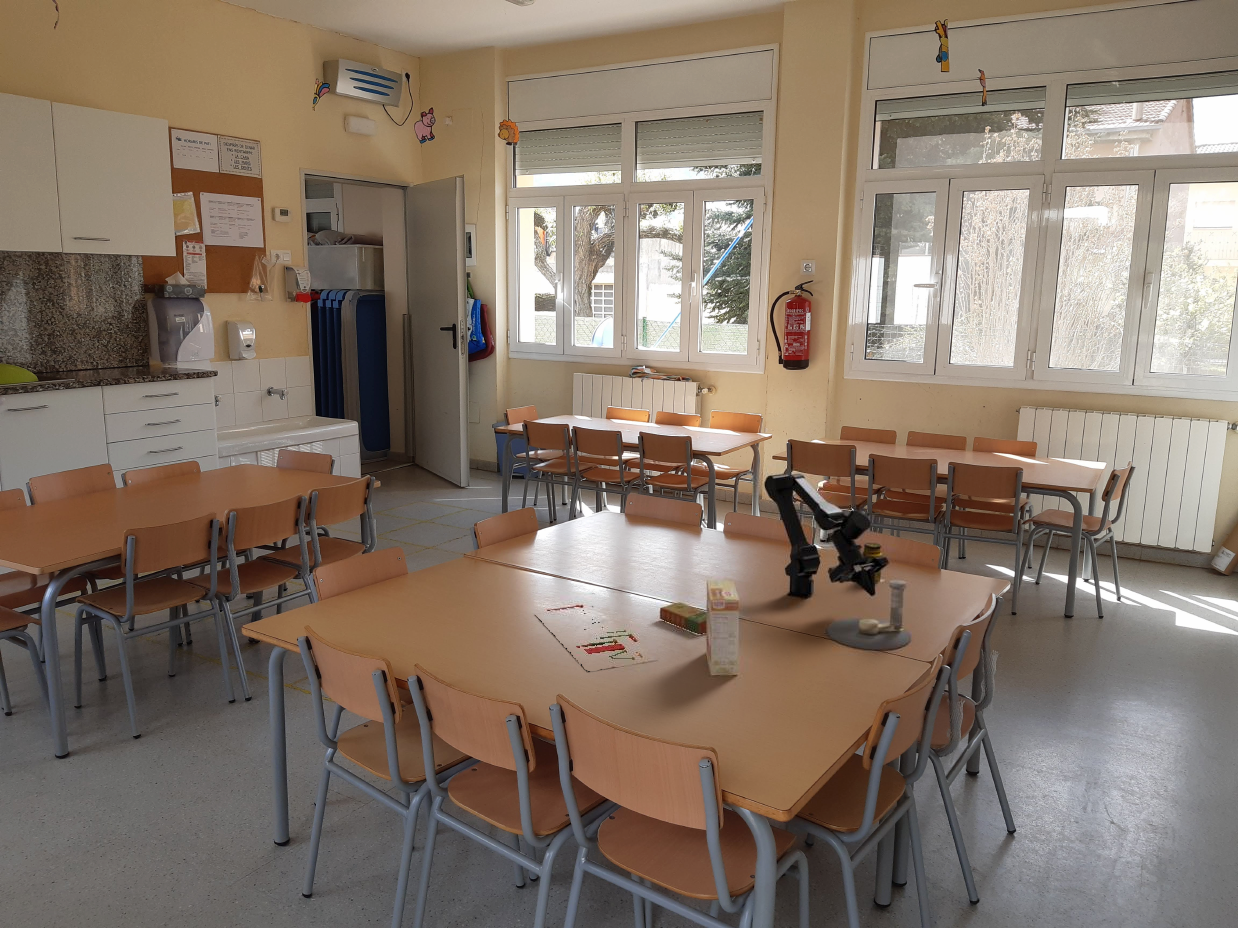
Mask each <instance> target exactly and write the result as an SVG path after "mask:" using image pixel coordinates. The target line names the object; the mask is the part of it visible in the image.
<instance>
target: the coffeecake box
mask: <svg viewBox="0 0 1238 928" xmlns="http://www.w3.org/2000/svg"><path fill="white" fill-rule="evenodd" d="M739 604H740V599H739V595H738V592H737V589H736V586H735V583H734V580H717V579H716V580H715V579H714V580H712V579H711V580H707V581H706V612H707V633H706V648H705V649H706V651H705V653H706V654H705V655H706V660H707V665H709V666H708V670H709V675H710V674H720V676H732V675H737V676H738V675H739V623H740V622H739V621H740V619H739V618H740V617H739V616H740V610H739V608H740V605H739Z"/></svg>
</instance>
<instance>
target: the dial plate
mask: <svg viewBox="0 0 1238 928" xmlns="http://www.w3.org/2000/svg"><path fill="white" fill-rule="evenodd" d="M862 619H863V618H858V617H857V618H847V619H846V618H845V619H840V620H835V621H834V622H832V623H830V624H829V625H828V626H827V628H826V634H827V635H828V637H829V638H830V639H831V640H834V641H835V642H837V643H838V644H841V645H844V646H847V647H851V648H855V649H860V650H868V651H870V650H871V651H889V650H896V649H900V648H903V647H906V646H907V645H908V644H909V643H911V639H912V635H911V633H910V632H909V631H908V629H906V628H904V627H902V629H900V630H897V631H884V632H878V633H877V634H864V633H861V632H860V631H859V621H860V620H862ZM873 620H876V621H878V622H879V624H884V623H890V621H885V620H879V619H874V618H873Z"/></svg>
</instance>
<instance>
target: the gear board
mask: <svg viewBox="0 0 1238 928" xmlns="http://www.w3.org/2000/svg"><path fill="white" fill-rule="evenodd" d="M584 606H585V605H583V604H576V605H573V606H566V607H558V608H551V609H549V608H548V609H546V610H547V611H550V610H555V611H560V609H562V610H568V609H567V608H569V609H575V608H574V607H579V608H583V607H584ZM583 611H584V610H583ZM550 612H551V611H550ZM584 614H586V613H584ZM592 620H593V619H592ZM594 623H596V622H594ZM594 623H592V624H594ZM598 623H600V622H598ZM602 628H603V627H602ZM584 630H586V629H584ZM626 631H627V630H626V629H624V631H616V633H617V632H626ZM607 633H614V632H607ZM622 636H629V638H631V639H632V640H633V641H634V642H637V641H639V640H638V639H637V638H636V637H635V636H634V634H632V633H628V635H618V636H608V637H600V639H604V638H612V637H622ZM633 638H634V639H633ZM596 639H597V638H596ZM613 642H614V643H615V644H614V645H608V646H602V647H595V648H589V649H584V650H585V651H586V652H587V653H588V654H592V653H600V652H605V651H615V650H624V649H625V647H624V646H623V645H622V644H616V643H618V642H617V640H616V639H613V641H608V642H599V643H589V644H587V645H581V646H582V647H588V646H595V645H596V646H597V645H603V644H605V643H613ZM576 647H577V648H580V646H576ZM624 652H626V653H627V651H626V650H624V651H622V652H620V653H617V654H615V655H612V656H616V655H618V654H621V653H624ZM636 653H638V652H636ZM612 656H609V657H611V658H612V659H632V660H635V658H634V657H632V658H613V657H612ZM638 656H640V657H641V658H642V657H643V656H642V655H641V654H640V653H639V655H638Z"/></svg>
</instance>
